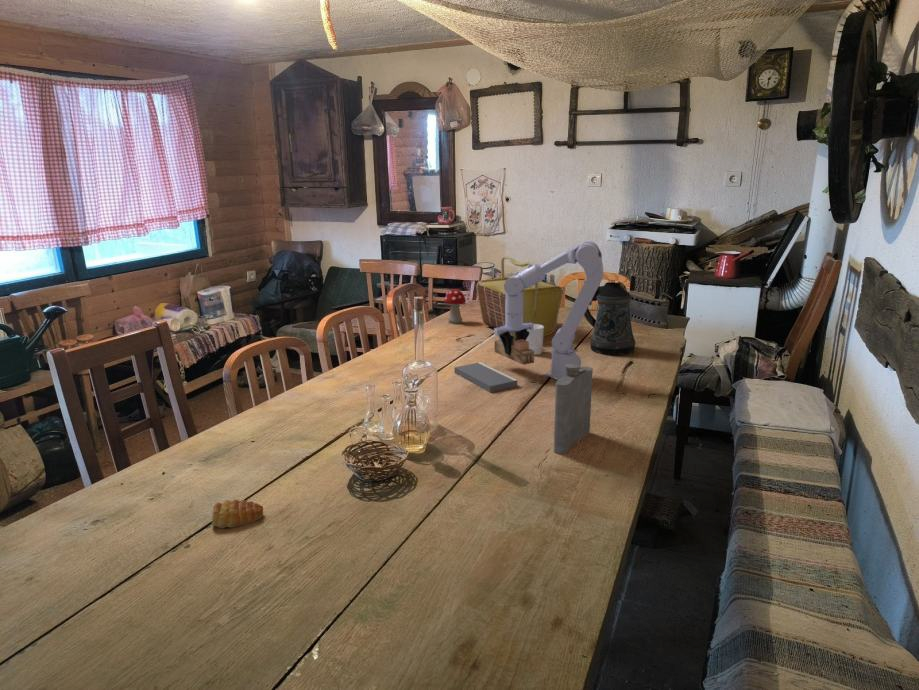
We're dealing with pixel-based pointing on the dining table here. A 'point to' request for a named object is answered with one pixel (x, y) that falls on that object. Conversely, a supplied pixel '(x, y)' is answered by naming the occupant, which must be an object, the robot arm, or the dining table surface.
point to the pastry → (235, 513)
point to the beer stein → (611, 321)
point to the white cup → (536, 339)
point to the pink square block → (521, 344)
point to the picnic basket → (537, 301)
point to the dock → (486, 377)
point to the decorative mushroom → (454, 305)
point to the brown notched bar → (515, 353)
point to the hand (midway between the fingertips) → (513, 353)
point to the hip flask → (572, 407)
